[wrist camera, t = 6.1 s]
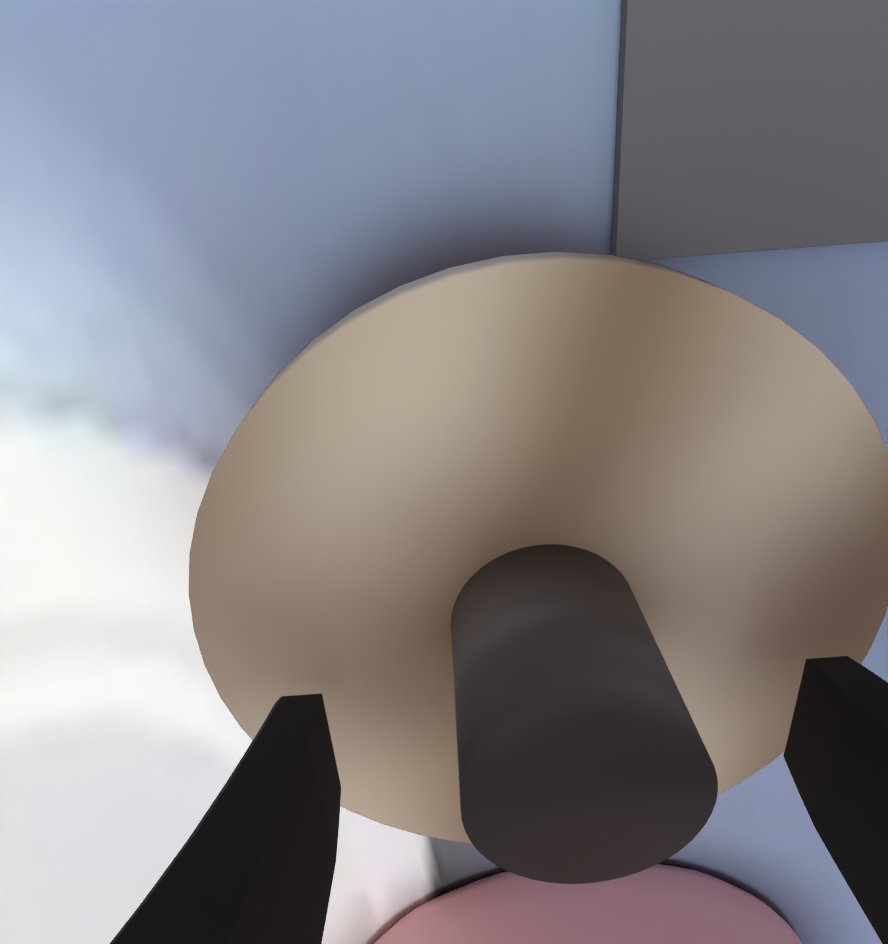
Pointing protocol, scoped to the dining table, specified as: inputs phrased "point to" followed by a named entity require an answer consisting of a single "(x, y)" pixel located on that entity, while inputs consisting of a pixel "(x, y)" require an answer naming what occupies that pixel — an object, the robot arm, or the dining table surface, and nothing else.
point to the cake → (595, 912)
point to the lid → (545, 553)
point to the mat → (750, 126)
